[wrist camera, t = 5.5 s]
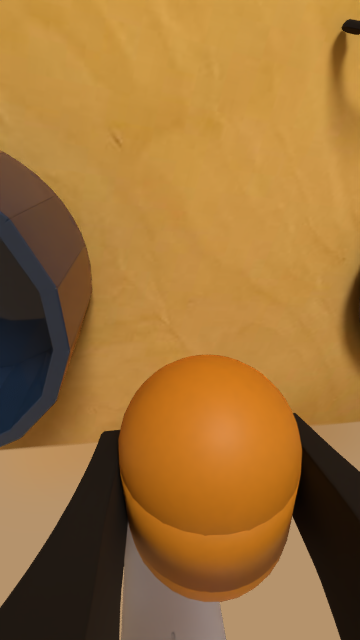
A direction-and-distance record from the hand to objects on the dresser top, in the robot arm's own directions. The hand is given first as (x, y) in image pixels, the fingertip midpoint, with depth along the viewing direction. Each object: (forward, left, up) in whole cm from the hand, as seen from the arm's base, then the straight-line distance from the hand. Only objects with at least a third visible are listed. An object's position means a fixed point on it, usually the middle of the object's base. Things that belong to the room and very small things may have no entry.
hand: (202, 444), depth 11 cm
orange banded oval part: (0, 0, -1) cm, 1 cm away
